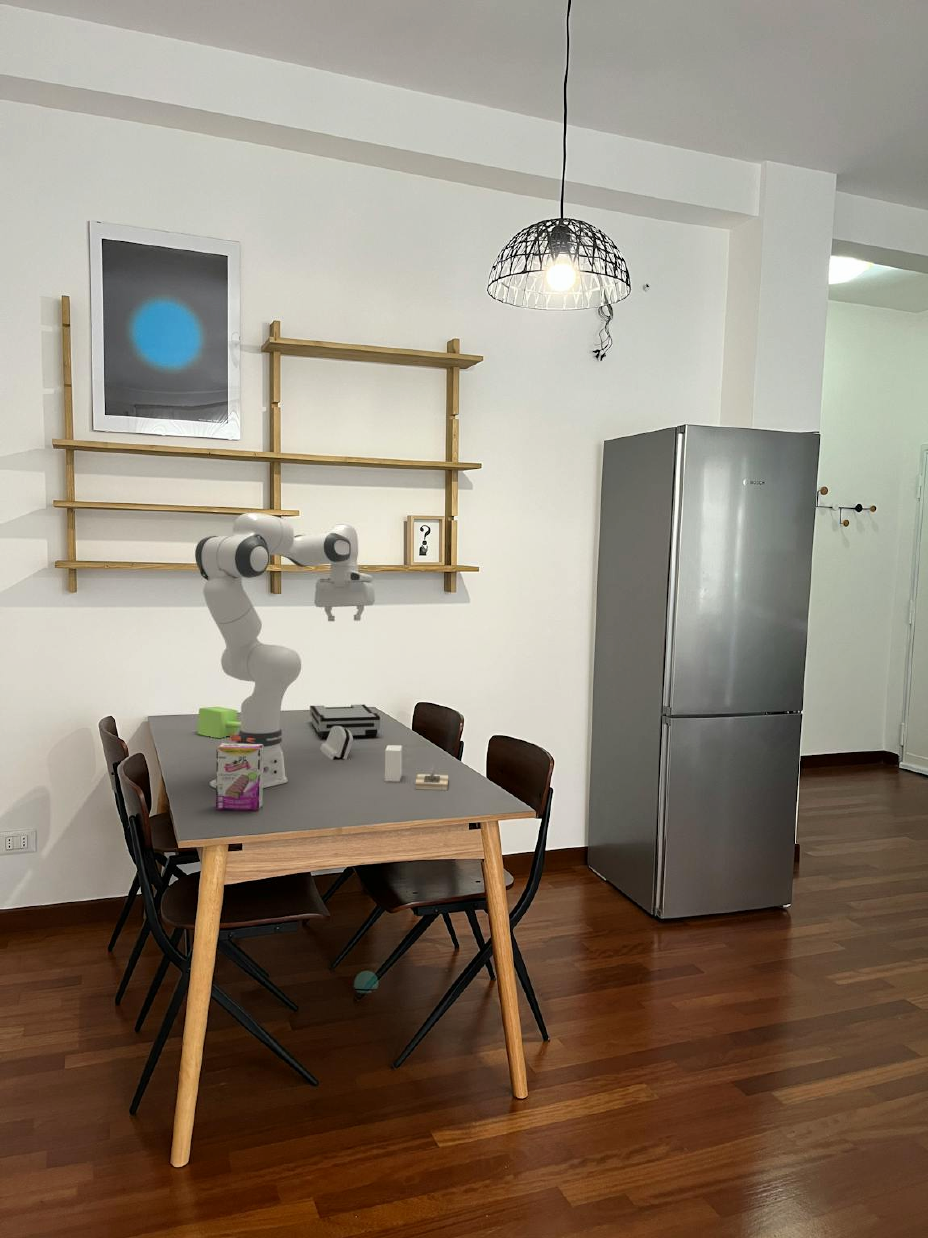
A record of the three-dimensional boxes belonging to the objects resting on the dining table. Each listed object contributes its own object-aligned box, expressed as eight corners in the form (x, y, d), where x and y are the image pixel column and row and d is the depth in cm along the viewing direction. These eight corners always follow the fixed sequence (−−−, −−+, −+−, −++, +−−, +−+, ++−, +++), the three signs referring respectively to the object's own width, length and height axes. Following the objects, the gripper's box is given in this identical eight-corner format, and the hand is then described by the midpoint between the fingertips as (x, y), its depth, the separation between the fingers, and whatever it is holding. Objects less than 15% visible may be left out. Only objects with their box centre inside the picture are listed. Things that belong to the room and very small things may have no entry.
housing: (399, 781, 269) (400, 750, 268) (384, 781, 269) (385, 750, 268) (401, 775, 276) (402, 745, 275) (387, 775, 276) (387, 745, 275)
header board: (447, 790, 261) (447, 773, 260) (415, 789, 261) (415, 772, 260) (448, 780, 272) (448, 764, 271) (417, 779, 272) (417, 763, 271)
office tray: (364, 722, 358) (364, 701, 357) (379, 739, 327) (379, 716, 326) (309, 724, 352) (309, 702, 351) (320, 741, 321) (320, 718, 321)
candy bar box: (215, 810, 236) (215, 746, 234) (219, 805, 241) (219, 742, 239) (259, 811, 236) (260, 747, 235) (263, 805, 241) (263, 743, 240)
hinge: (319, 749, 308) (329, 720, 309) (332, 753, 310) (342, 724, 311) (331, 760, 293) (342, 730, 293) (345, 764, 295) (355, 734, 295)
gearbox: (249, 737, 327) (251, 710, 326) (229, 740, 318) (230, 713, 318) (212, 730, 336) (214, 704, 335) (191, 733, 327) (193, 706, 327)
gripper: (310, 577, 294) (310, 621, 293) (367, 574, 286) (367, 619, 285) (321, 579, 300) (321, 622, 299) (377, 576, 292) (377, 620, 291)
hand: (344, 620), depth 292 cm, fingers open, 8 cm apart
